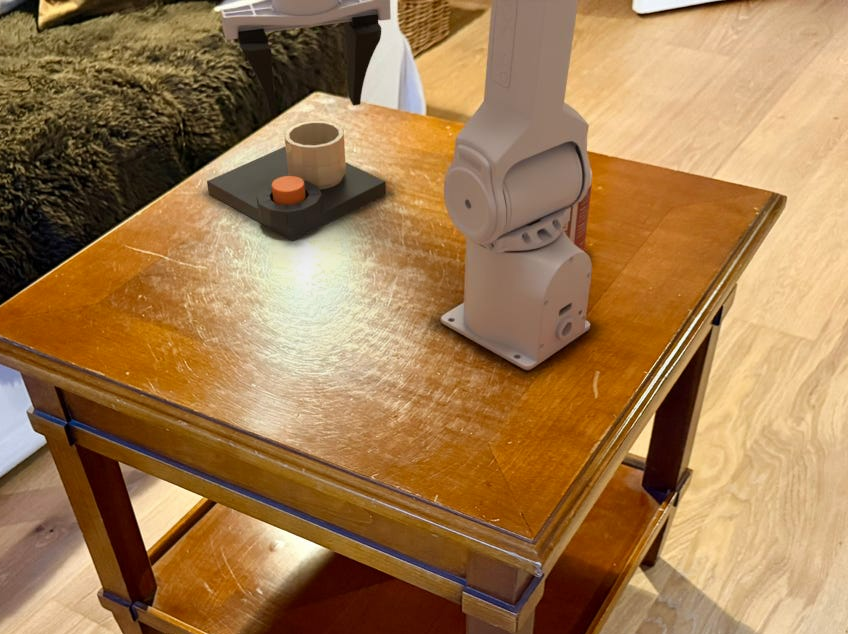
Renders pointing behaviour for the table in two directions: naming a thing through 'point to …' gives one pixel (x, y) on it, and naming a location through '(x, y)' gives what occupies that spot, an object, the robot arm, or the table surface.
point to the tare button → (288, 190)
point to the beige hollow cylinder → (316, 153)
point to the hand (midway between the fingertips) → (313, 106)
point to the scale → (320, 207)
